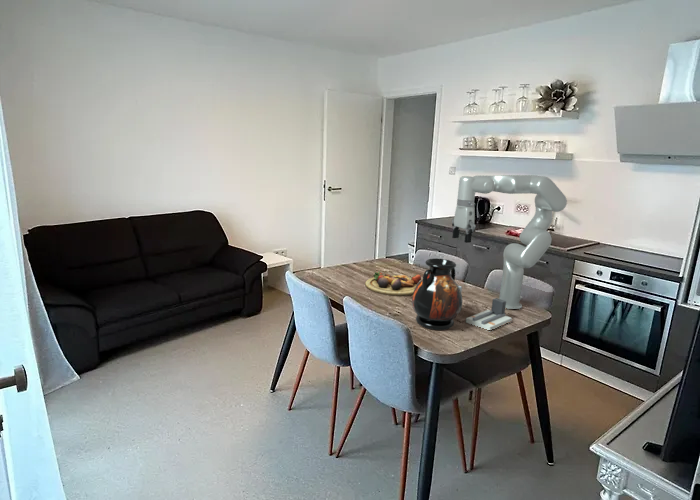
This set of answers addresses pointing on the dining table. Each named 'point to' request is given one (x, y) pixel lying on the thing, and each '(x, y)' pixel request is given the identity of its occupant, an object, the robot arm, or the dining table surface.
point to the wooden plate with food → (392, 284)
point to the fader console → (488, 320)
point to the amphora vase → (437, 296)
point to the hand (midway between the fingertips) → (461, 240)
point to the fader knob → (498, 306)
